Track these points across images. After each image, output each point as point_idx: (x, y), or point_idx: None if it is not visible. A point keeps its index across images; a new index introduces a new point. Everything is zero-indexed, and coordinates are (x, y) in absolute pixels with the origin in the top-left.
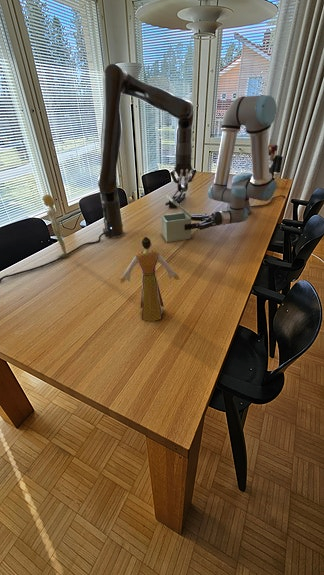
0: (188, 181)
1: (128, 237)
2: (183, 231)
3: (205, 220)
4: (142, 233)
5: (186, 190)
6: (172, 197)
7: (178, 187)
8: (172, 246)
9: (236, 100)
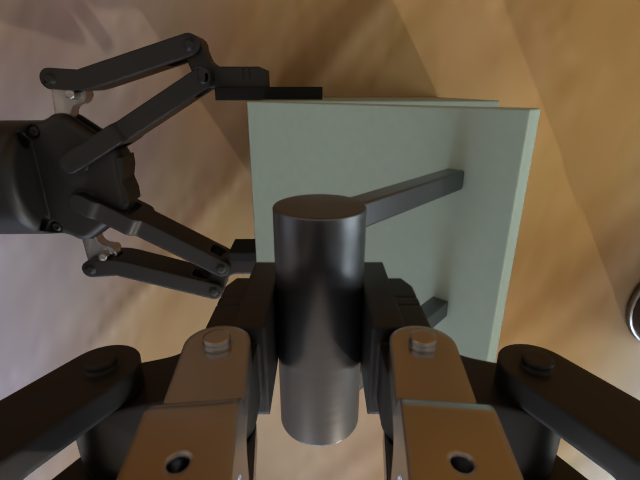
0: (169, 375)
1: (622, 246)
2: (328, 98)
3: (124, 131)
4: (527, 273)
5: (257, 264)
6: (436, 304)
7: (420, 306)
8: (429, 16)
9: None
